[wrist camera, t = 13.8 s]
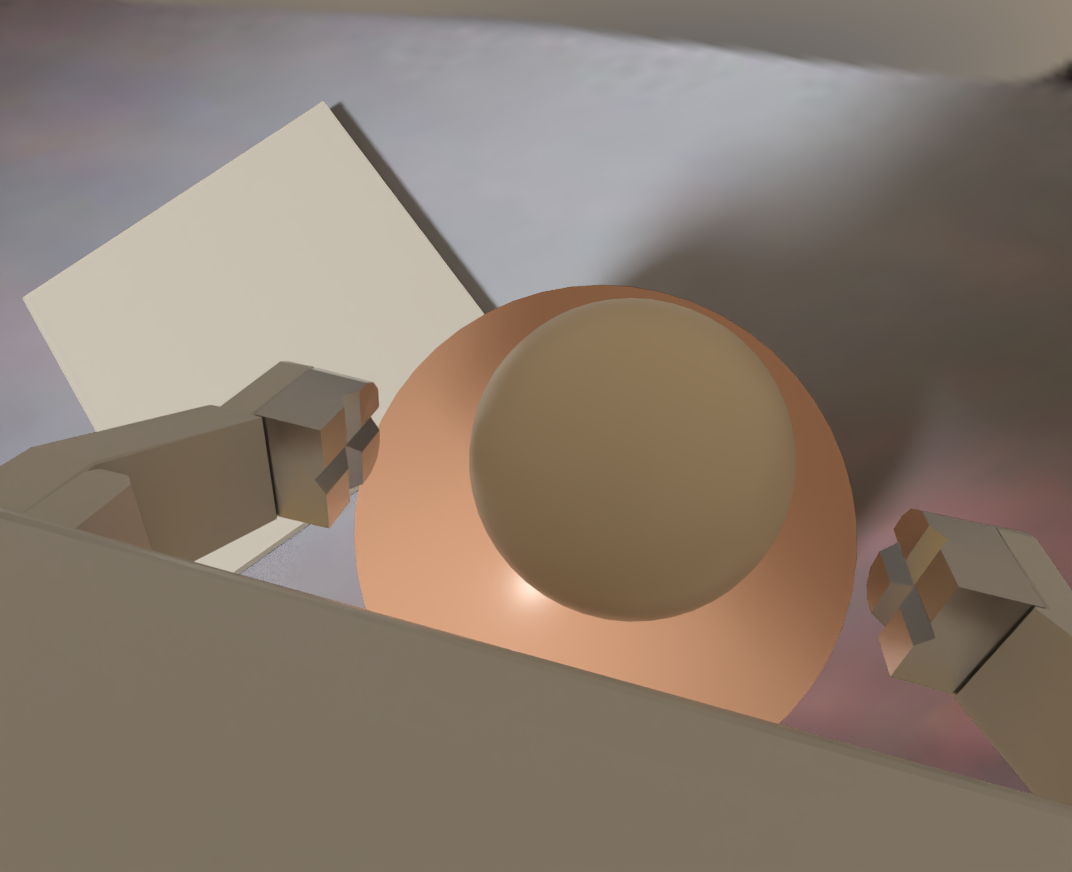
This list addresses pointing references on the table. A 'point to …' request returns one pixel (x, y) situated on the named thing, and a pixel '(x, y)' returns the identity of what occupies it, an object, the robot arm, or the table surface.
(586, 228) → the table surface
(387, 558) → the salmon dome
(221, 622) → the robot arm
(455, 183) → the table surface
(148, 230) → the mat
